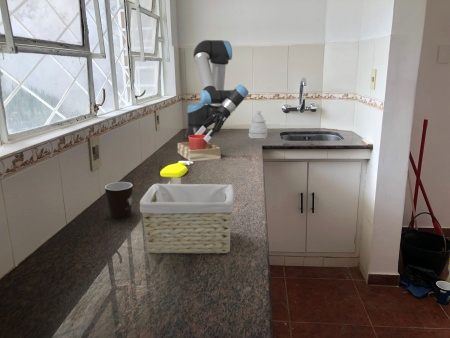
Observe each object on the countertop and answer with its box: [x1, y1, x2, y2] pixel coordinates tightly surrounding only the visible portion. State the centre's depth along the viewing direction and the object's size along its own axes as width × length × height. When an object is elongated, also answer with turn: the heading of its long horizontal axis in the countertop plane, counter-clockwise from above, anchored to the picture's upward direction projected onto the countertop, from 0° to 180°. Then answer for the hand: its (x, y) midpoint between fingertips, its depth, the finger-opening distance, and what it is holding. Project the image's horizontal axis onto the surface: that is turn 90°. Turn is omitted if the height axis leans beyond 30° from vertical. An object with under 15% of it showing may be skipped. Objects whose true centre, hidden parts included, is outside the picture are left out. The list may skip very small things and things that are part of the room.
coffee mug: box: [104, 181, 134, 220], centre depth 120 cm, size 12×9×10 cm
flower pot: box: [188, 135, 207, 150], centre depth 200 cm, size 11×11×10 cm
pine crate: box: [177, 141, 222, 162], centre depth 201 cm, size 22×17×6 cm
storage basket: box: [139, 183, 236, 254], centre depth 100 cm, size 24×16×15 cm
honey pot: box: [248, 110, 268, 139], centre depth 253 cm, size 13×13×18 cm
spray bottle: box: [159, 160, 194, 178], centre depth 173 cm, size 3×11×24 cm
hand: (200, 138), depth 199 cm, fingers open, 13 cm apart
